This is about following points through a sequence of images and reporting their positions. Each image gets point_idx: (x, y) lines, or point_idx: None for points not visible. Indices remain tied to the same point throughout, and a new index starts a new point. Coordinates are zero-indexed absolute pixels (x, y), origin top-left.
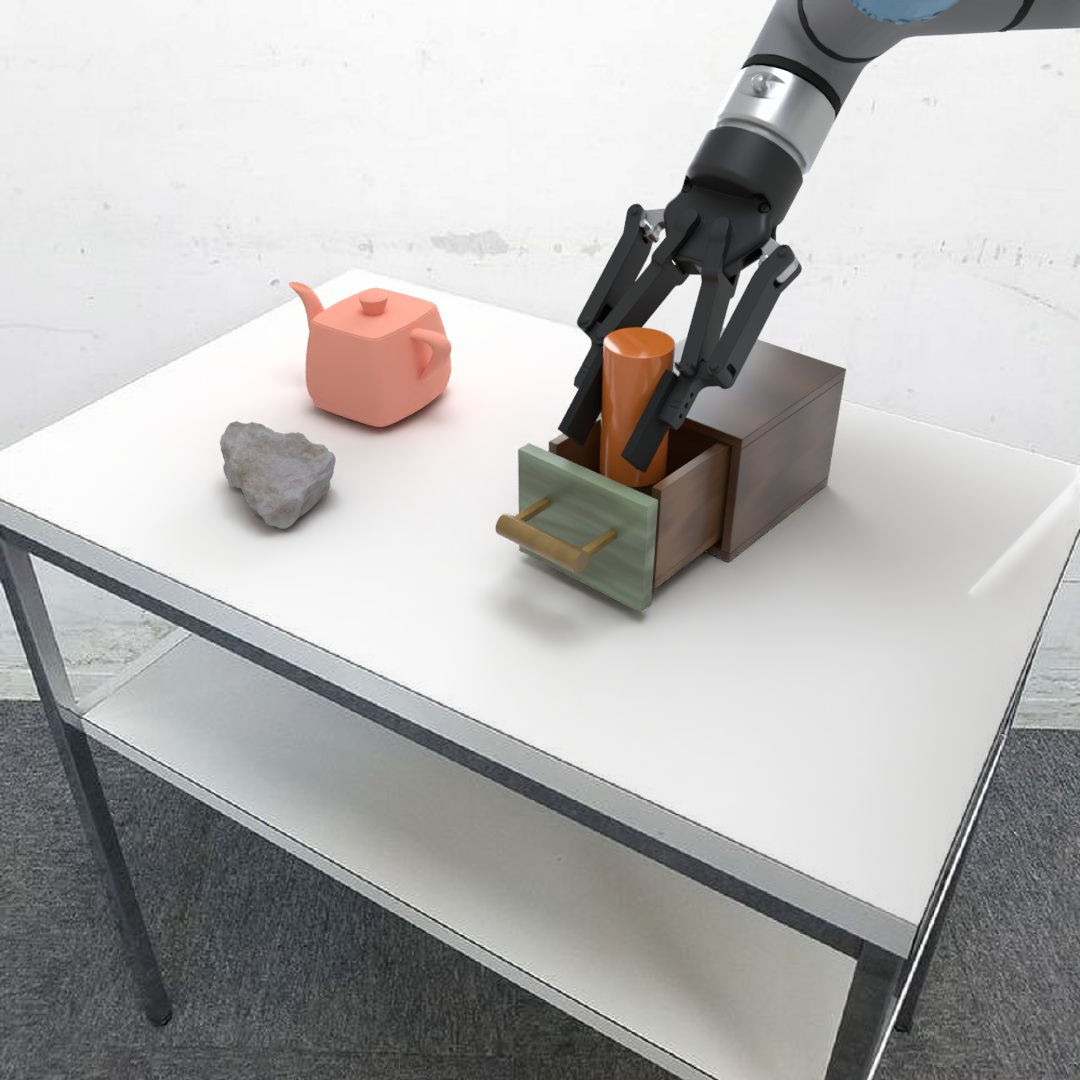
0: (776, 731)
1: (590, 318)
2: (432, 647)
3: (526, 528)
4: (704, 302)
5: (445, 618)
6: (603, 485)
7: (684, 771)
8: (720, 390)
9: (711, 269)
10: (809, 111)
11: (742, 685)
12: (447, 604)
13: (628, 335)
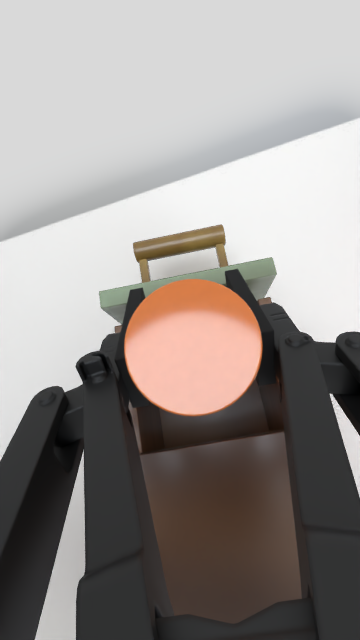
0: (8, 320)
1: (348, 348)
2: (206, 204)
3: (192, 233)
4: (110, 493)
5: (226, 225)
6: (156, 283)
7: (27, 257)
8: (215, 557)
9: (102, 593)
10: None
11: (46, 334)
12: (239, 233)
13: (226, 346)
